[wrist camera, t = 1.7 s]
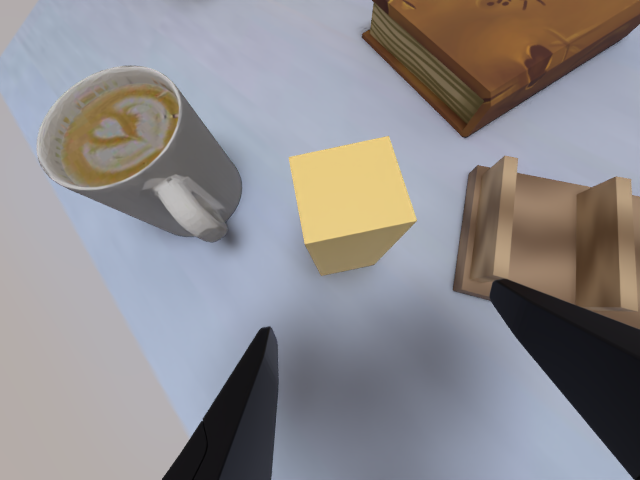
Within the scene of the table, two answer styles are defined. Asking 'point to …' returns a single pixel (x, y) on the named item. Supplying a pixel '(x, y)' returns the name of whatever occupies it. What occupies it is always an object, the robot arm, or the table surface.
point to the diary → (492, 48)
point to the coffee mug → (140, 152)
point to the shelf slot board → (552, 239)
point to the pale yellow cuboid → (351, 203)
